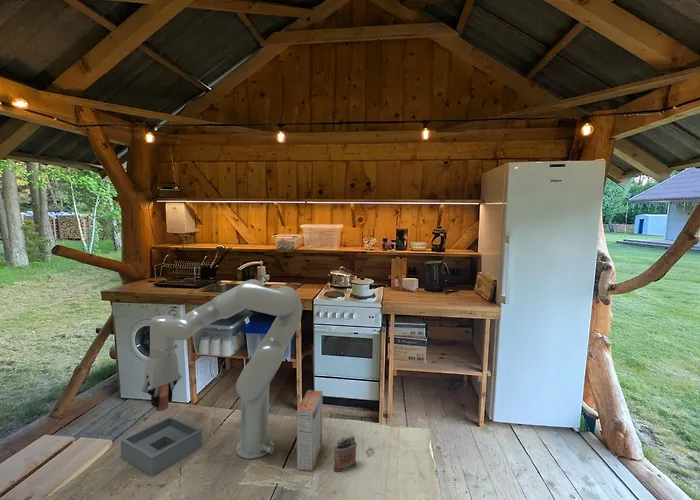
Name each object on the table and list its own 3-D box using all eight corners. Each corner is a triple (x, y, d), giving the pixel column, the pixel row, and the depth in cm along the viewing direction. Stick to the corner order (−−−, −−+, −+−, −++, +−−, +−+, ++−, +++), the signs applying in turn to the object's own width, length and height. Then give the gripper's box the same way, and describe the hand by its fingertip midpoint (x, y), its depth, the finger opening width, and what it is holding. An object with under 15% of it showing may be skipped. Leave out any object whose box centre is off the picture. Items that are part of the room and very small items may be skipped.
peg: (170, 407, 120) (171, 379, 119) (159, 412, 116) (160, 383, 116) (163, 404, 122) (164, 376, 121) (152, 408, 118) (153, 380, 118)
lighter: (336, 474, 110) (336, 444, 110) (331, 467, 113) (332, 438, 113) (357, 467, 114) (358, 437, 114) (353, 460, 117) (353, 432, 117)
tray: (201, 446, 123) (201, 429, 123) (152, 476, 107) (152, 457, 107) (170, 431, 132) (170, 415, 131) (120, 457, 116) (120, 439, 116)
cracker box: (306, 444, 126) (307, 388, 125) (322, 446, 125) (323, 390, 124) (295, 470, 112) (296, 408, 111) (313, 472, 111) (314, 409, 110)
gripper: (177, 343, 127) (177, 391, 128) (131, 356, 112) (130, 411, 113) (190, 347, 123) (190, 396, 124) (144, 361, 109) (143, 417, 110)
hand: (161, 403), depth 119 cm, fingers closed on peg, 4 cm apart
